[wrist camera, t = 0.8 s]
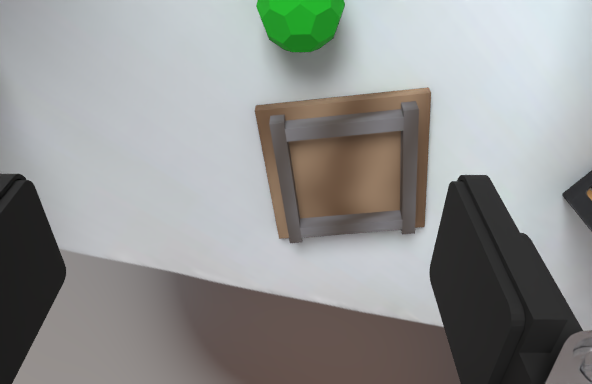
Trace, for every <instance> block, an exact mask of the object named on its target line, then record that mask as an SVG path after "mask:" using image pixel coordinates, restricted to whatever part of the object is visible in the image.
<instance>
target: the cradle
mask: <svg viewBox="0 0 592 384" xmlns="http://www.w3.org/2000/svg"><path fill="white" fill-rule="evenodd" d="M430 103H431V92H430V90H429V88H420V89H410V90H401V91H391V92H382V93H372V94H362V95H353V96H343V97H333V98H324V99H314V100H304V101H295V102H285V103H275V104H266V105H256V108H255V114H256V119H257V124H258V130H259V135H260V140H261V145H262V151H263V156H264V161H265V166H266V172H267V177H268V182H269V187H270V193H271V198H272V203H273V208H274V213H275V219H276V224H277V229H278V234H279V239H281V238H289V240H290V243H298V242H302V238H303V237H315V236H328V235H340V234H353V233H365V232H378V231H390V230H401V231H402V234H411V233H415V228H418V227H425V207H426V187H427V166H428V145H429V124H430Z"/></svg>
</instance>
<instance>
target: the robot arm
mask: <svg viewBox="0 0 592 384" xmlns="http://www.w3.org/2000/svg"><path fill="white" fill-rule="evenodd" d="M65 276H66V267H65V264H64V261H63V259H62V256H61V253H60V251H59V248H58V245H57V243H56V240H55V238H54V235H53V233H52V230H51V227H50V225H49V222H48V220H47V217H46V214H45V212H44V209H43V207H42V204H41V202H40V199H39V196H38V194H37V191H36V189H35V186H34V184H33V183H32V182H31V181H29V180H26V178H25V177H24V176H23V175H21V174H0V384H12V383H13V381H14V379H15V377H16V375H17V373H18V371H19V369H20V367H21V365H22V363H23V361H24V359H25V357H26V355H27V353H28V351H29V349H30V347H31V345H32V343H33V341H34V339H35V338H36V336H37V334H38V332H39V329H40V328H41V326H42V324H43V322H44V320H45V318H46V316H47V314H48V312H49V310H50V308H51V306H52V304H53V302H54V300H55V298H56V296H57V294H58V292H59V290H60V288H61V287H62V285H63V282H64V280H65ZM430 281H431V285H432V288H433V292H434V295H435V298H436V302H437V305H438V308H439V312H440V315H441V318H442V322H443V325H444V328H445V332H446V335H447V339H448V342H449V345H450V349H451V352H452V355H453V359H454V362H455V365H456V369H457V372H458V375H459V379H460V382H461V384H592V331H583V330H582V328H581V326H580V325H579V323H578V321H577V319H576V318H575V316H574V314H573V312H572V311H571V309H570V307H569V305H568V304H567V302H566V300H565V298H564V297H563V295H562V293H561V291H560V290H559V288H558V286H557V284H556V283H555V281H554V279H553V277H552V276H551V274H550V272H549V270H548V269H547V267H546V265H545V263H544V262H543V260H542V258H541V256H540V255H539V253H538V251H537V249H536V248H535V246H534V244H533V242H532V241H531V239H530V238H529V237H528V235H526V234H524V233H520V232H519V230H518V228H517V227H516V225H515V223H514V221H513V219H512V218H511V216H510V214H509V212H508V210H507V209H506V207H505V205H504V203H503V201H502V200H501V198H500V196H499V194H498V192H497V191H496V189H495V187H494V185H493V183H492V182H491V180H490V178H489V177H488V176H486V175H461V176H459V178H458V180H457V181H452V182H451V183H450V184H449V187H448V192H447V196H446V200H445V205H444V209H443V213H442V217H441V222H440V226H439V230H438V234H437V239H436V243H435V247H434V252H433V256H432V260H431V264H430Z"/></svg>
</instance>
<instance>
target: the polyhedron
mask: <svg viewBox="0 0 592 384" xmlns="http://www.w3.org/2000/svg"><path fill="white" fill-rule="evenodd" d="M344 6H345V3H344V0H258V2H257V6H256V7H257V9H258V12H259V15H260V17H261V20H262V22H263V25H264V27H265V30H266V32H267V35H268V37H269V40H271V41H272V42H274V43H275V44H277V45H278V46H280V47H281V48H283V49H284V50H287V51H290V52H311V51H314V50H317V49H319V48H321V47H322V46H323V45H325V44H326V43H327V42H329V41H330V40H332V39H333V37H334V34H335V32H336V29H337V27H338V24H339V21H340V18H341V15H342V12H343V9H344Z"/></svg>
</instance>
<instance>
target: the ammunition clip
mask: <svg viewBox="0 0 592 384" xmlns="http://www.w3.org/2000/svg"><path fill="white" fill-rule="evenodd" d="M563 197H564V198H565V199H566V200H567V201H568V203H569V204H570V205H571V206H572V208H573V209H574V210H575V211H576V213H577V214H578V215H579V216H580V218H581V219H582V220H583V221H584V223H585V224H586V225H587V226H588V228H589V229H590V230H591V231H592V171H590V172H589V173H588V174H587V175H585V176H584V177H583V178H582V179H580V180H579V181H578V182H577V183H575V184H574V185H573V186H571V187H570V188H569V189H568V190H566V191H565V192H564V193H563Z"/></svg>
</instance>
